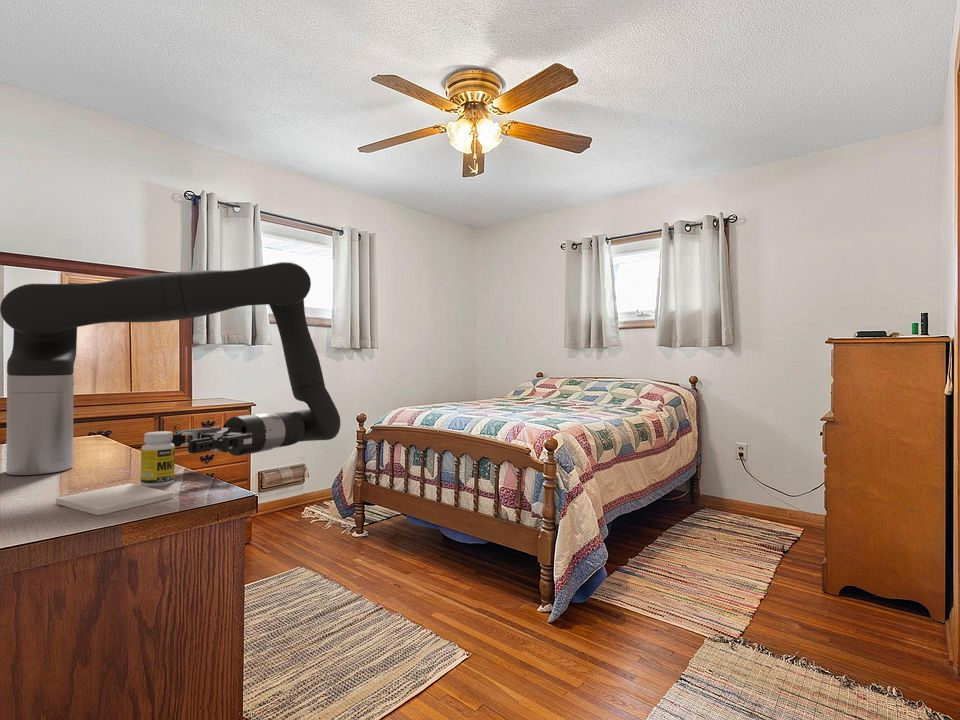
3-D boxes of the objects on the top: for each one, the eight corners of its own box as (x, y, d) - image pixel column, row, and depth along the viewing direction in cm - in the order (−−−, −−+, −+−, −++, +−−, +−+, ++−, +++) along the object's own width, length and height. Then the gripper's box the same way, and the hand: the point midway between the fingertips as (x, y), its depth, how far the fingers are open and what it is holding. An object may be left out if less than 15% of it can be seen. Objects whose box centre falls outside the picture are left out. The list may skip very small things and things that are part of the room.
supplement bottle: (158, 488, 84) (158, 435, 84) (133, 486, 85) (133, 434, 85) (181, 481, 89) (181, 431, 89) (157, 479, 90) (157, 430, 90)
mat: (56, 503, 75) (56, 497, 75) (130, 488, 84) (130, 483, 84) (98, 515, 70) (98, 509, 70) (172, 498, 79) (172, 492, 79)
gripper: (230, 412, 107) (149, 419, 93) (280, 416, 100) (200, 425, 86) (230, 449, 107) (148, 462, 93) (280, 456, 100) (200, 472, 86)
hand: (173, 444), depth 89 cm, fingers open, 8 cm apart
